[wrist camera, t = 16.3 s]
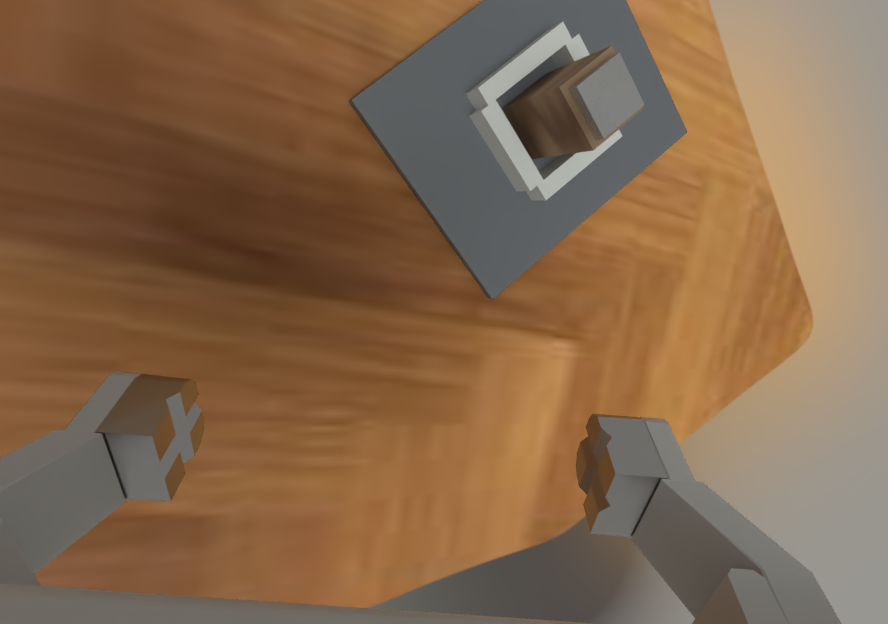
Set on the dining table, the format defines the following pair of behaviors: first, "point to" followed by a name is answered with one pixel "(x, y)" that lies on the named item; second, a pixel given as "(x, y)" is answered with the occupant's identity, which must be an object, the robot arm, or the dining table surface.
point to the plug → (575, 106)
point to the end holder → (511, 129)
